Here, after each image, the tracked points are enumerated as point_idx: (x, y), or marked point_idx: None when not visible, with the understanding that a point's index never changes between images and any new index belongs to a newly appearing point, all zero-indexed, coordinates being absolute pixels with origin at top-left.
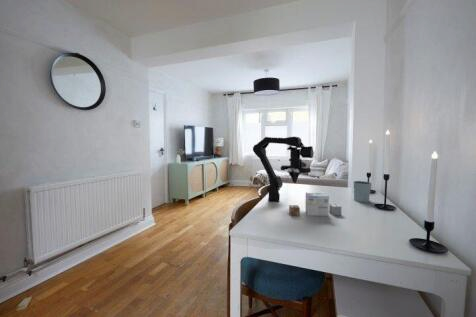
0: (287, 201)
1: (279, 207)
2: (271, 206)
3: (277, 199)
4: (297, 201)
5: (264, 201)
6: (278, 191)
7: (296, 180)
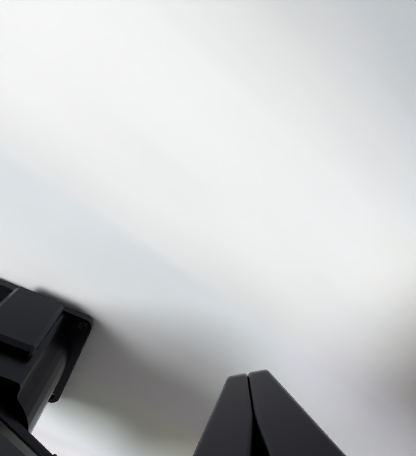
0: (105, 225)
1: None
2: None
3: (59, 330)
4: (147, 113)
5: None
6: (2, 378)
7: (310, 426)
